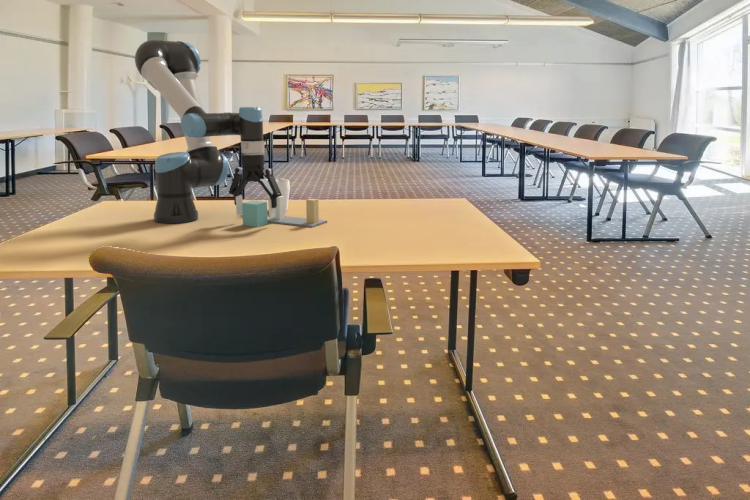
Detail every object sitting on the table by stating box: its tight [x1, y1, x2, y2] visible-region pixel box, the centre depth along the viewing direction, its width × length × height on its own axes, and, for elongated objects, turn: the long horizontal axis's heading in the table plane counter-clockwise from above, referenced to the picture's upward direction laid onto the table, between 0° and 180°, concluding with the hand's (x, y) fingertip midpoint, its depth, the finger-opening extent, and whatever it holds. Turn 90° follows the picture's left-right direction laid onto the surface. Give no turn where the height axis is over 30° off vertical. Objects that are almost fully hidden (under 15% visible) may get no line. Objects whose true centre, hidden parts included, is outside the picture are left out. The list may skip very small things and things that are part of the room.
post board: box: [267, 196, 328, 228], centre depth 222 cm, size 20×10×9 cm, turn 65°
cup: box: [266, 177, 291, 212], centre depth 243 cm, size 9×9×12 cm
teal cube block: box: [242, 200, 269, 228], centre depth 217 cm, size 6×6×8 cm
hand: (255, 216), depth 217 cm, fingers open, 13 cm apart
